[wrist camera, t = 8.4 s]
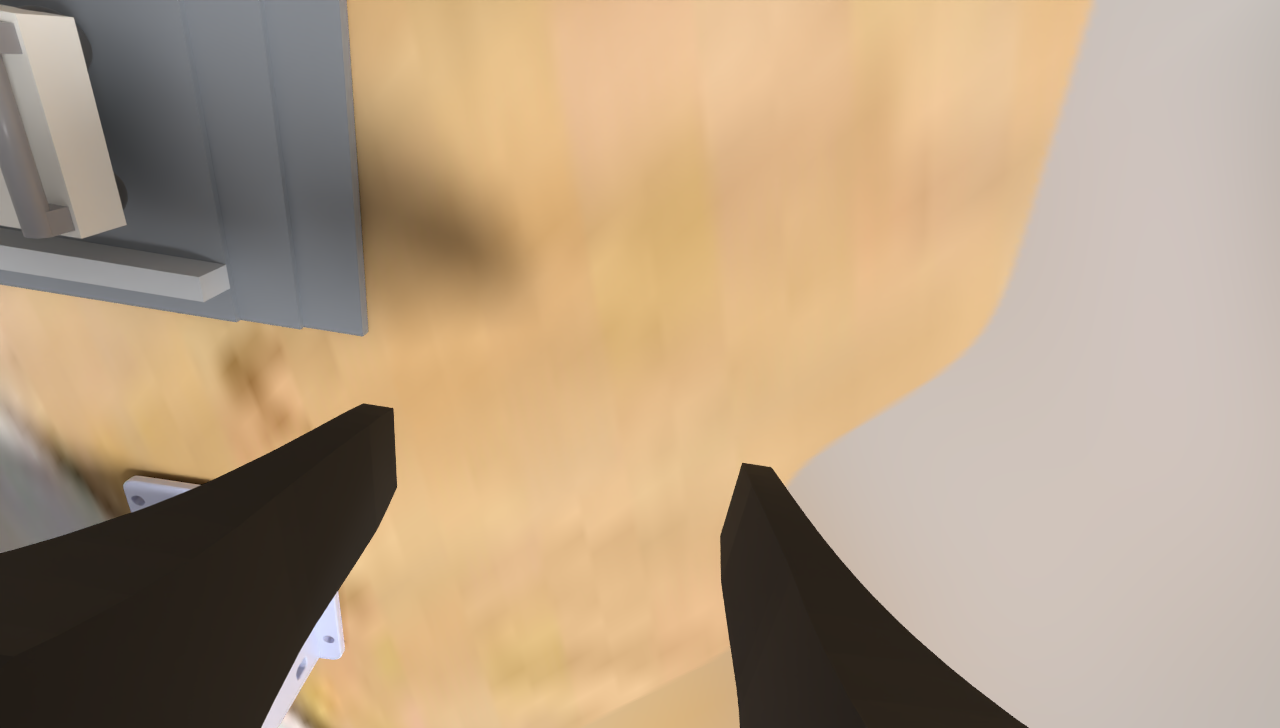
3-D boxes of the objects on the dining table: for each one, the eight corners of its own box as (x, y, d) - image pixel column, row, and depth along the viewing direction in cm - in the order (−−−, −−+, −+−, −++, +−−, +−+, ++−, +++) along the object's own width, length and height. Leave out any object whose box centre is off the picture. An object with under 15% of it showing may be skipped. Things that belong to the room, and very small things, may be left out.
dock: (368, 331, 20) (332, 363, 18) (-109, 255, 20) (-203, 278, 18) (340, -99, 15) (284, -126, 13) (-326, -222, 14) (-502, -272, 12)
